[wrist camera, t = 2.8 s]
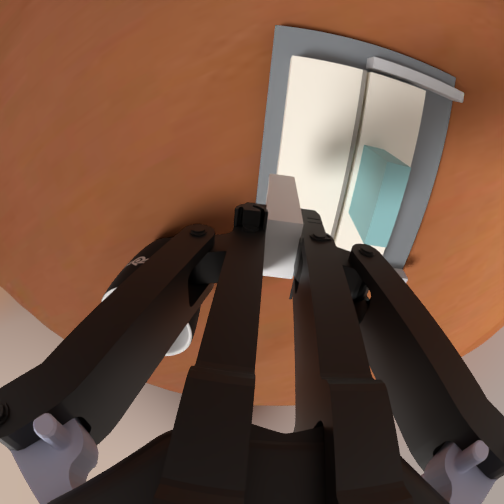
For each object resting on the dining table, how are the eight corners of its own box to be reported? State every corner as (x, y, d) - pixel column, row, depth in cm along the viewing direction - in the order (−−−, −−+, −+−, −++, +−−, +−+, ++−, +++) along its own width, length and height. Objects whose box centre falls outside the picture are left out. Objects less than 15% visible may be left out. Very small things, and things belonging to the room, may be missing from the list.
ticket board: (275, 28, 18) (275, 17, 15) (449, 77, 18) (470, 78, 14) (249, 263, 31) (246, 285, 28) (391, 280, 31) (401, 300, 28)
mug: (172, 210, 28) (131, 268, 20) (230, 268, 31) (213, 338, 23) (115, 266, 33) (76, 322, 24) (165, 310, 36) (140, 371, 28)
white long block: (363, 73, 18) (397, 68, 12) (414, 89, 18) (461, 95, 12) (325, 256, 28) (336, 307, 22) (369, 262, 28) (389, 310, 22)
